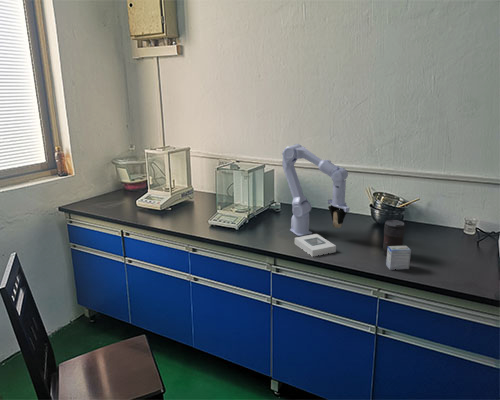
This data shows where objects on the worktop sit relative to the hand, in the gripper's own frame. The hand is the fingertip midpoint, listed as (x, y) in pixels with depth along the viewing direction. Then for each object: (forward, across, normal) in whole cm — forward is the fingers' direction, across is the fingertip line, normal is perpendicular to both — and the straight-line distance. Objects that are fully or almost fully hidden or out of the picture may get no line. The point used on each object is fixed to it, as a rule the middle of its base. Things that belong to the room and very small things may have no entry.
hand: (337, 222), depth 189 cm
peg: (+2, 0, 0) cm, 2 cm away
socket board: (+9, -4, +15) cm, 18 cm away
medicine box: (+9, -35, -5) cm, 36 cm away
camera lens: (+9, -25, -11) cm, 29 cm away
